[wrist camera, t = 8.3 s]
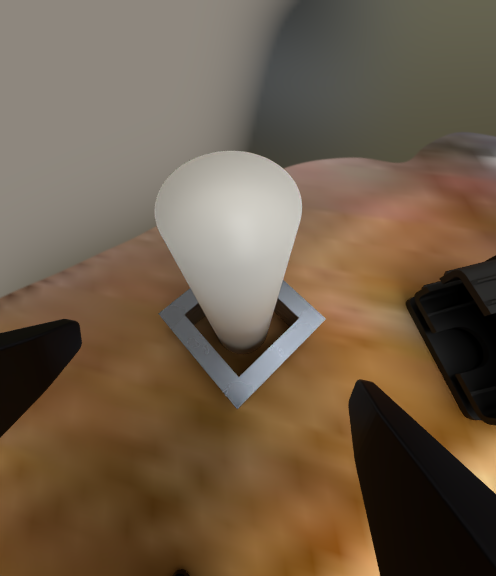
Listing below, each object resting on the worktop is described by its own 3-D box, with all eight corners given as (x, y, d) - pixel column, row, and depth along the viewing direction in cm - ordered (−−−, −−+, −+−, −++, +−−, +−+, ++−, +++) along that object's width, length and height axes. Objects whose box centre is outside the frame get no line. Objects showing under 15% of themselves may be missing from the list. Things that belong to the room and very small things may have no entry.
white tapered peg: (239, 365, 19) (218, 299, 6) (206, 326, 20) (126, 198, 7) (278, 329, 20) (332, 206, 7) (244, 294, 21) (235, 132, 8)
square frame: (239, 406, 18) (237, 409, 15) (170, 325, 20) (158, 313, 17) (315, 329, 20) (325, 319, 17) (245, 263, 22) (244, 244, 19)
